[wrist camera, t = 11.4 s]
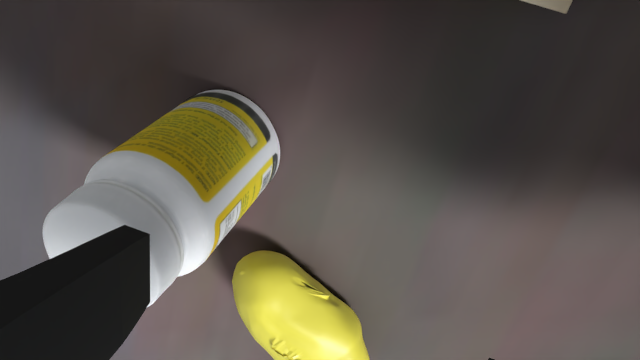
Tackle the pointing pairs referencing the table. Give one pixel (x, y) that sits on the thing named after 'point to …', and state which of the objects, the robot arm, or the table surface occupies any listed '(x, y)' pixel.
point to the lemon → (294, 311)
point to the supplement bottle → (174, 184)
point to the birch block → (552, 4)
